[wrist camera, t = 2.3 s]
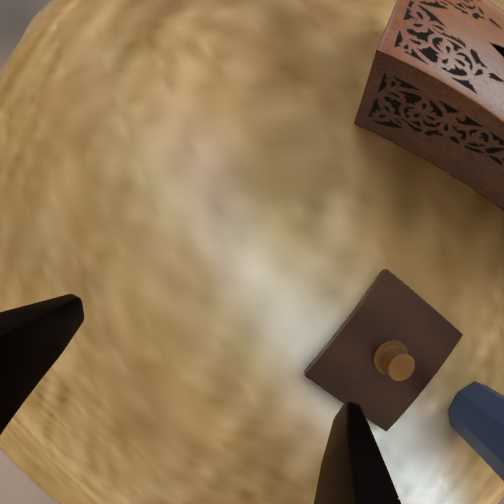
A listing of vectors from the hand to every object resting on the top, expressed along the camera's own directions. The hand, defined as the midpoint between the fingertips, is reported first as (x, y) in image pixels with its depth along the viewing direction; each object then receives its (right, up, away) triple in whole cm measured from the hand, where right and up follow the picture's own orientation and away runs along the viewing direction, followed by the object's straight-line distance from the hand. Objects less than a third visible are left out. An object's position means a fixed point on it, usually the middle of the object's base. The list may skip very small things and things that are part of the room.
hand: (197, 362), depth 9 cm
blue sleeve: (+21, -11, +12) cm, 27 cm away
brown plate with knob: (+12, -5, +13) cm, 19 cm away
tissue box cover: (+25, +15, +13) cm, 32 cm away
